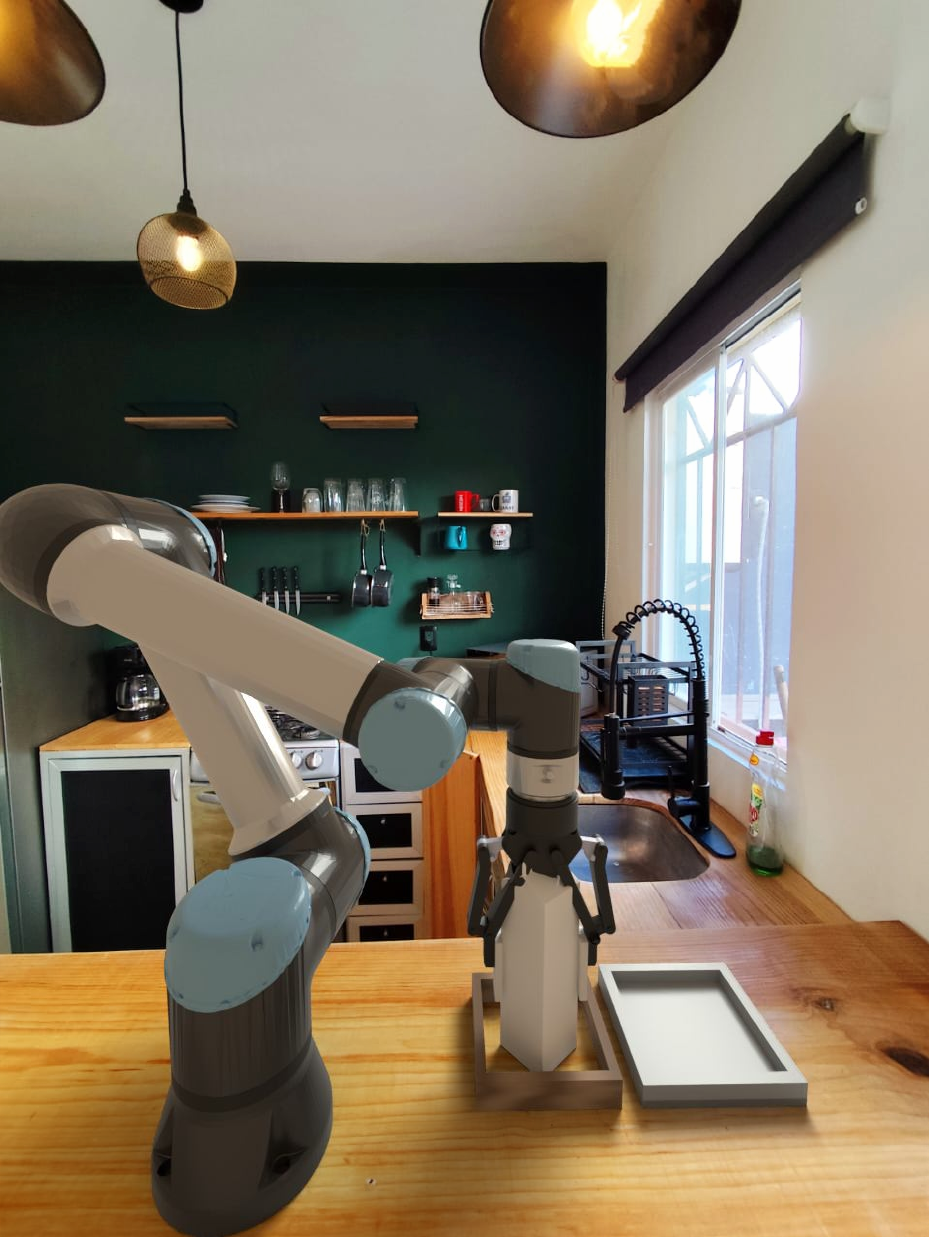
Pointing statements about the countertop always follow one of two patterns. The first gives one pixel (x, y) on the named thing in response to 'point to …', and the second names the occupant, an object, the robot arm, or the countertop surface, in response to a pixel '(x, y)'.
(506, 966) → the milk
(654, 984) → the tray
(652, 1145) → the countertop surface
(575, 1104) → the frame
